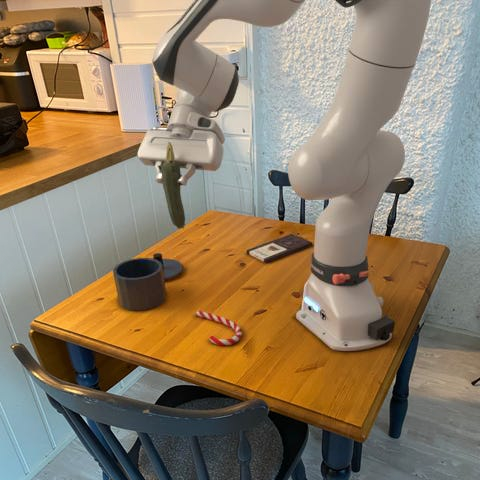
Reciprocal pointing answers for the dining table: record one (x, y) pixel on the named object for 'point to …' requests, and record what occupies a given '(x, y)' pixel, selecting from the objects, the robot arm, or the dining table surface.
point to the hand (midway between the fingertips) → (170, 183)
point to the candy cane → (226, 322)
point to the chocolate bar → (279, 248)
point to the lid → (169, 266)
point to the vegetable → (173, 188)
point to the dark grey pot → (140, 284)
